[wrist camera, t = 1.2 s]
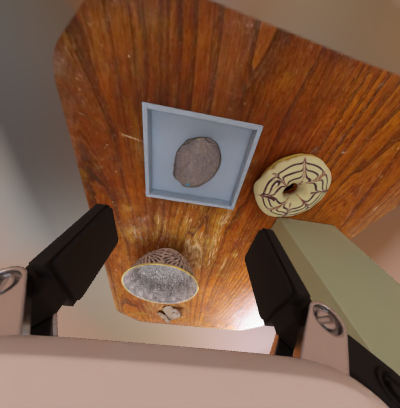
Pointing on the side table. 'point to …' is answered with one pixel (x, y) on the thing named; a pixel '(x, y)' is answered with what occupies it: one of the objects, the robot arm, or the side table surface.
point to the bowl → (161, 277)
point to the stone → (197, 161)
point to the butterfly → (170, 314)
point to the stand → (346, 284)
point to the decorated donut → (302, 189)
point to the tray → (191, 128)
